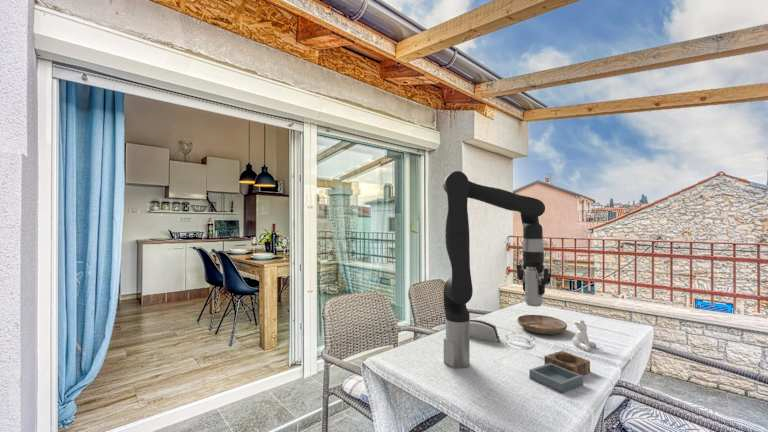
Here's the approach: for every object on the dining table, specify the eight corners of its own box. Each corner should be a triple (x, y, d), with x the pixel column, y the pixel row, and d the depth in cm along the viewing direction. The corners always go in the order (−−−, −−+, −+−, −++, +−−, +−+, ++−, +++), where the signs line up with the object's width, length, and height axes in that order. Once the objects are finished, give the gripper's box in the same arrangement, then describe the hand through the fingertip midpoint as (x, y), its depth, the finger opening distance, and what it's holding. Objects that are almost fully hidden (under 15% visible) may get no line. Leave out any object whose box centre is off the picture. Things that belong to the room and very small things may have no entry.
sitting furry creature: (589, 352, 142) (589, 324, 142) (568, 347, 149) (568, 320, 149) (597, 347, 148) (597, 320, 148) (576, 342, 155) (576, 316, 155)
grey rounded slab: (500, 339, 157) (498, 321, 155) (497, 345, 154) (494, 327, 152) (467, 332, 168) (464, 314, 165) (463, 337, 164) (460, 320, 162)
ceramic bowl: (507, 326, 177) (507, 317, 177) (538, 321, 187) (538, 312, 187) (544, 341, 156) (544, 330, 156) (577, 334, 166) (577, 324, 166)
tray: (561, 393, 108) (561, 384, 108) (529, 378, 118) (529, 369, 118) (582, 384, 114) (582, 375, 114) (550, 370, 124) (550, 362, 124)
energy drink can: (527, 302, 134) (527, 265, 134) (543, 304, 130) (543, 266, 130) (523, 305, 129) (522, 266, 130) (539, 307, 125) (539, 268, 126)
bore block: (572, 378, 118) (572, 367, 118) (543, 366, 128) (543, 355, 128) (591, 371, 124) (591, 361, 124) (561, 360, 134) (561, 350, 134)
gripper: (511, 249, 134) (511, 290, 134) (543, 252, 122) (544, 297, 122) (523, 248, 138) (524, 288, 138) (556, 251, 126) (556, 295, 125)
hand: (533, 293), depth 130 cm, fingers closed on energy drink can, 6 cm apart
